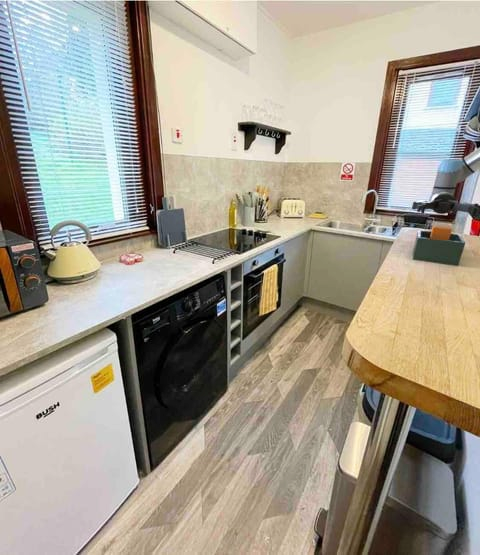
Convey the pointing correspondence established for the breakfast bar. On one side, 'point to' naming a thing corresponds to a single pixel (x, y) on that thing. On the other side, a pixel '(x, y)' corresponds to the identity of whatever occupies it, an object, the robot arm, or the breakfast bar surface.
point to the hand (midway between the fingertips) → (448, 210)
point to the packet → (441, 231)
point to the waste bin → (438, 248)
